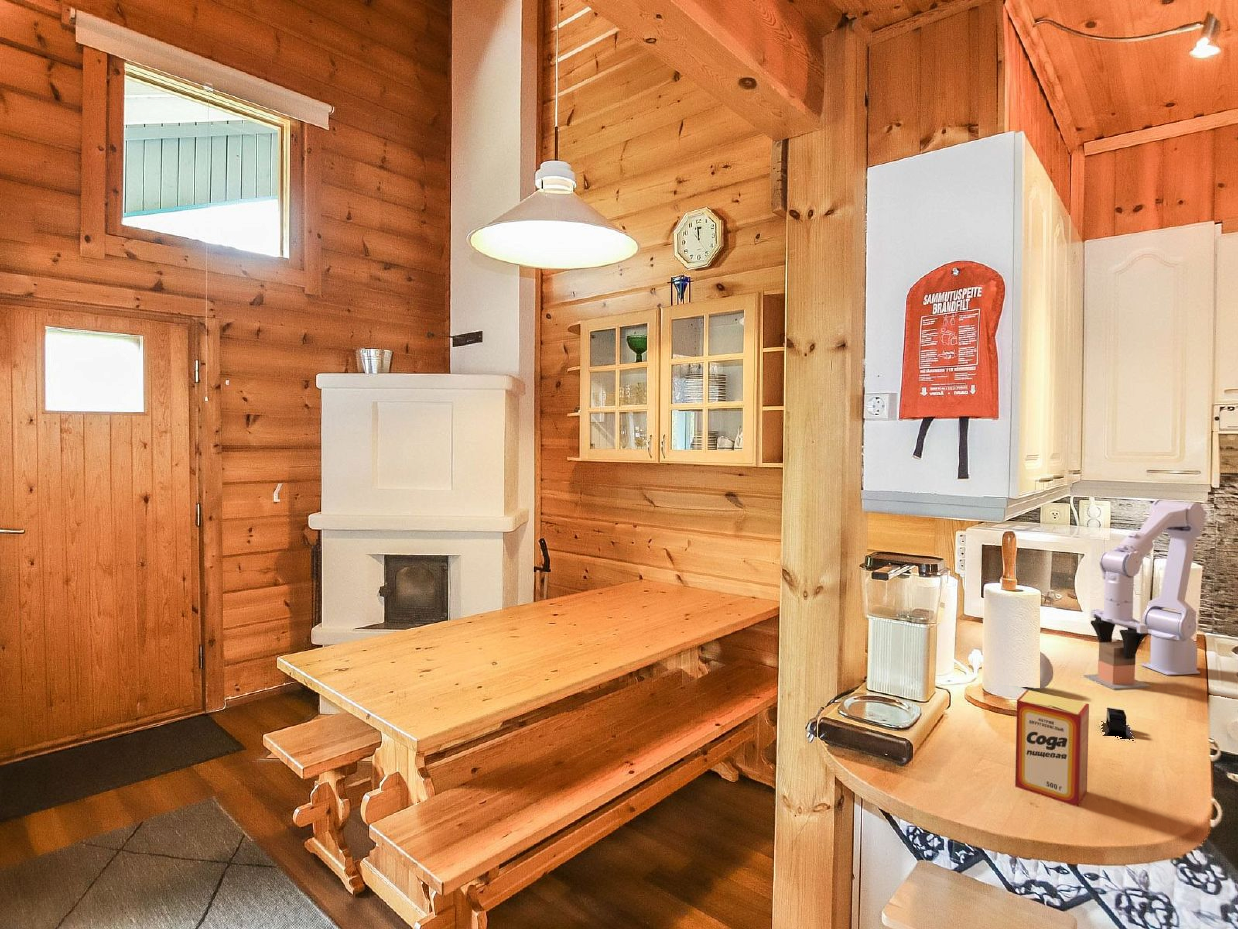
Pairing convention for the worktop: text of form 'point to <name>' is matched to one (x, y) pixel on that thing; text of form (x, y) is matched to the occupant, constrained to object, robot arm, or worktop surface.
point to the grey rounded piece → (1045, 671)
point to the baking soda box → (1052, 746)
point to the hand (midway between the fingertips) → (1117, 653)
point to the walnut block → (1114, 654)
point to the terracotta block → (1116, 673)
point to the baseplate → (1118, 686)
